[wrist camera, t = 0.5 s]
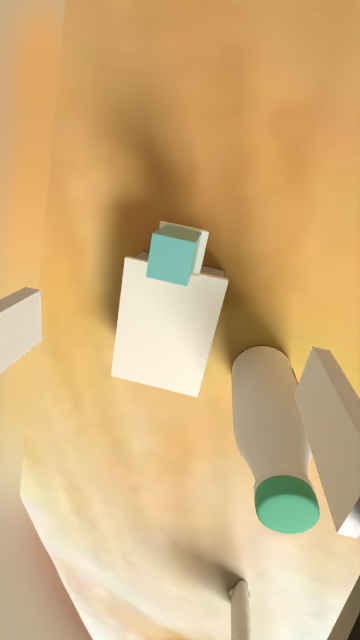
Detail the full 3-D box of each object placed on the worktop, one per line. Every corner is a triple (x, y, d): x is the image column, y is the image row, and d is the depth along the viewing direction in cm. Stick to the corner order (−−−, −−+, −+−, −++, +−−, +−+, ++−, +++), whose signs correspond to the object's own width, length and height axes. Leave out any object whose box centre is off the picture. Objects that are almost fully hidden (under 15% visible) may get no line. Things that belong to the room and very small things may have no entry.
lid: (132, 214, 30) (107, 220, 24) (239, 237, 30) (242, 250, 23) (113, 372, 38) (91, 407, 32) (198, 393, 37) (192, 433, 31)
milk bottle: (220, 374, 42) (214, 517, 24) (255, 333, 39) (279, 460, 21) (266, 403, 43) (295, 562, 24) (304, 364, 39) (369, 514, 21)
